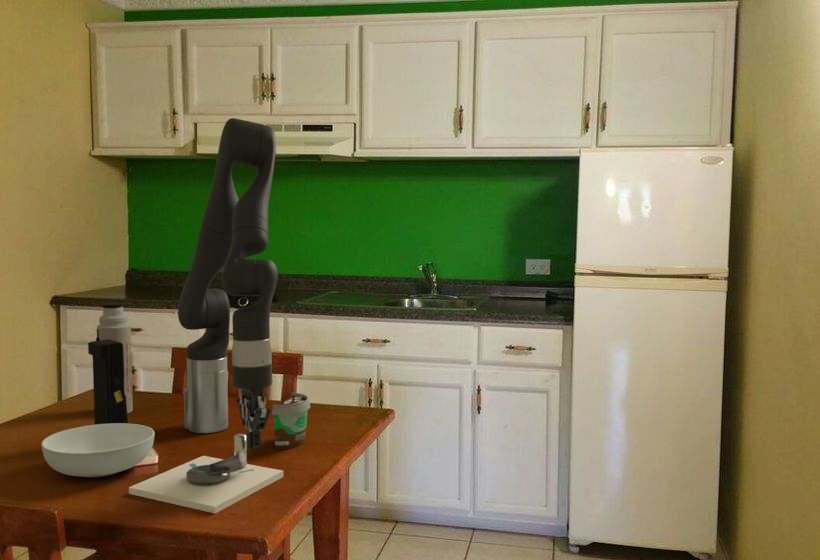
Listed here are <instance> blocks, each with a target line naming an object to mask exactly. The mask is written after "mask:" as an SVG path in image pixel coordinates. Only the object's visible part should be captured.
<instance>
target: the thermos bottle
mask: <svg viewBox="0 0 820 560" xmlns="http://www.w3.org/2000/svg"><path fill="white" fill-rule="evenodd" d="M102 308H103V310H102V315H100V316H99V320H98V322H99V325H97V326H96V330H99V331H98V335H99V338H100V340H107V339H109V340H113V341H117V342H121V343H122V344H123V352H124V393H125V395H126V404H127V414H129V413H131V412H132V411H133V407H134V406H133V404H134V402H133V375H132V374H133V373H132V370H133V369H132V336H131V335H132V334H131V333H132V332H131V324H130V323H128V320H129V319H128V316H127V315H126V314H124V313H125V312H124V303H121V302H107V303H103V304H102Z"/></svg>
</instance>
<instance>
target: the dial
mask: <svg viewBox="0 0 820 560" xmlns="http://www.w3.org/2000/svg"><path fill="white" fill-rule="evenodd" d="M247 452H248V448H247V433H246V434H245V433H237V434H234V435H233V453H234V454H233V456H229V457H227V458H225V459H223V460H221V461H218V462H215V463H212V464H210V465H202V466H198V467H194V468H192V469H190V470H188V471H187V473H186V478H187V481H188V482H190V483H193V484H214V483H219V482H222V481H225V480H227V479H228V478H229V477H230V471H231V470H233V469H236V468H239V467H245V466H247V464H248V460H247V459H248V457H247V455H248V454H247Z"/></svg>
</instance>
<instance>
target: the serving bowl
mask: <svg viewBox="0 0 820 560" xmlns="http://www.w3.org/2000/svg"><path fill="white" fill-rule="evenodd" d="M154 441H155V431H154V429H153V428H152V427H149V426H146V425H142V424H136V423H128V424H127V423H112V424H97V425H94V424H89V425H83V426H77V427H73V428H67V429H64V430H61V431H58V432H55V433H52V434H50V435H49V436H47V437H46V438H44V439H43V440H42V441H41V445H40V446H41V452H42V455H43V458H44V460H45V461H46V463H47V464H48V465H49V466H50V467H51V468H52V469H53V470H54V471H56V472H58V473H59V474H63V475H67V476H71V477H72V476H73V477H81V478H82V477H83V478H102V477H107V476H111V475H115V474H118V473H120V472H123V471H124V472H125V471H127V470H129V469H131V468H133V467H135V466H137V465H138V464H140V463H141V462H143V460H145V459H146V457H148V455H149V454H150V452H151V450H152V448H153V445H154Z"/></svg>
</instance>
